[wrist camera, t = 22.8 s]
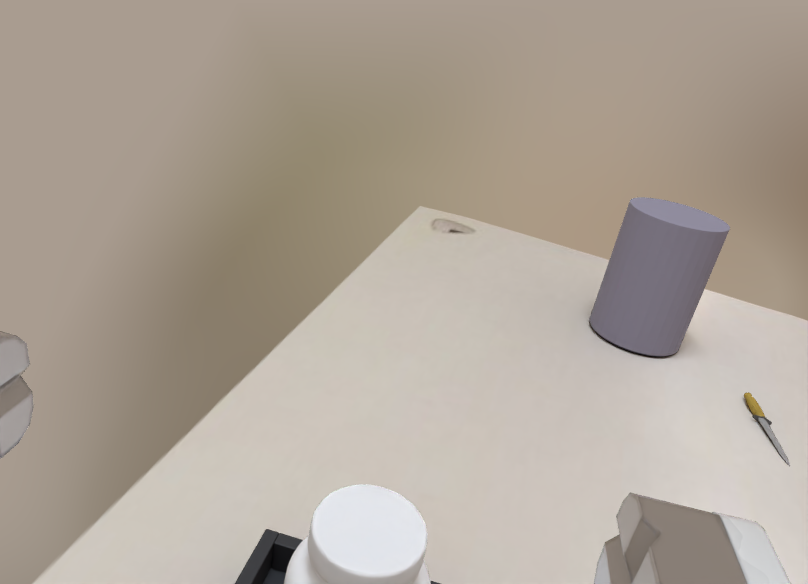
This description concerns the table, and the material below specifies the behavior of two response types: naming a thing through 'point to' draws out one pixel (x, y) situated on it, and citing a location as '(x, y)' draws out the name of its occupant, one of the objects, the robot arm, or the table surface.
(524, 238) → the table surface
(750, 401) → the dagger
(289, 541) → the dark shallow tray
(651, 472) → the table surface
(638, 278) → the container
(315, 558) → the pill bottle
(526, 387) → the table surface
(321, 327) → the table surface
